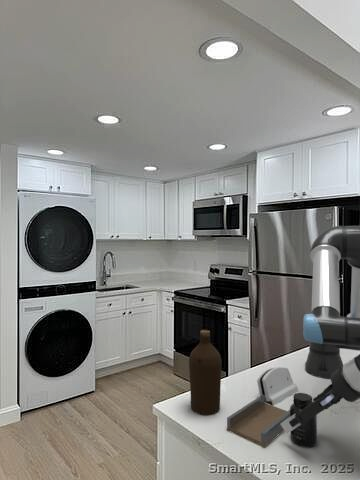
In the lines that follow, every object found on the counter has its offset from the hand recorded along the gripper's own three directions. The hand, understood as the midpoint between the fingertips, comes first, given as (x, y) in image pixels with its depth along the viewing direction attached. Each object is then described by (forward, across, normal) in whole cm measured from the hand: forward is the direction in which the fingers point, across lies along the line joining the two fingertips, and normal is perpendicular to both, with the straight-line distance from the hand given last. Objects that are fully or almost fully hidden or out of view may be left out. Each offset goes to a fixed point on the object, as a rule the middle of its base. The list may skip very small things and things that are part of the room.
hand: (291, 421), depth 93 cm
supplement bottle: (+1, 0, -5) cm, 5 cm away
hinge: (+14, +21, +8) cm, 26 cm away
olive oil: (+22, -4, +16) cm, 28 cm away
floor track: (+9, 0, +4) cm, 10 cm away
